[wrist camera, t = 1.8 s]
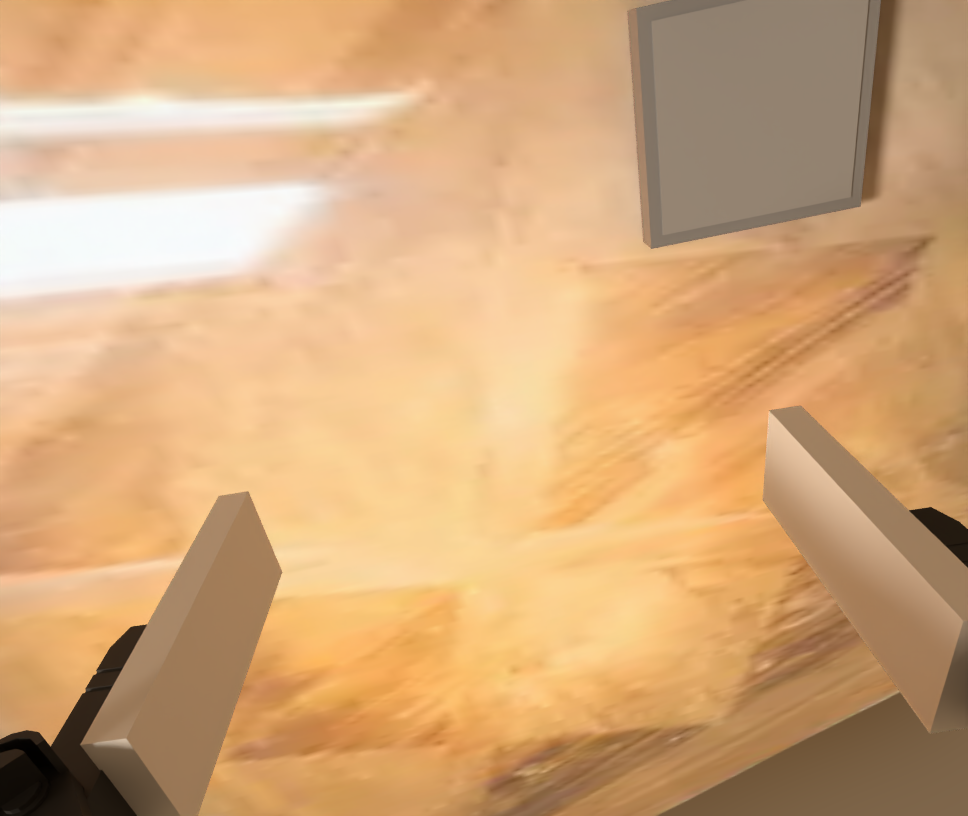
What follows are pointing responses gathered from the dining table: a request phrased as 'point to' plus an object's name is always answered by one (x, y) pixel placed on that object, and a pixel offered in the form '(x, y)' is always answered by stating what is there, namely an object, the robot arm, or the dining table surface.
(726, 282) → the dining table surface
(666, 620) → the dining table surface
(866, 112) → the grey square tray
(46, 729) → the dining table surface
